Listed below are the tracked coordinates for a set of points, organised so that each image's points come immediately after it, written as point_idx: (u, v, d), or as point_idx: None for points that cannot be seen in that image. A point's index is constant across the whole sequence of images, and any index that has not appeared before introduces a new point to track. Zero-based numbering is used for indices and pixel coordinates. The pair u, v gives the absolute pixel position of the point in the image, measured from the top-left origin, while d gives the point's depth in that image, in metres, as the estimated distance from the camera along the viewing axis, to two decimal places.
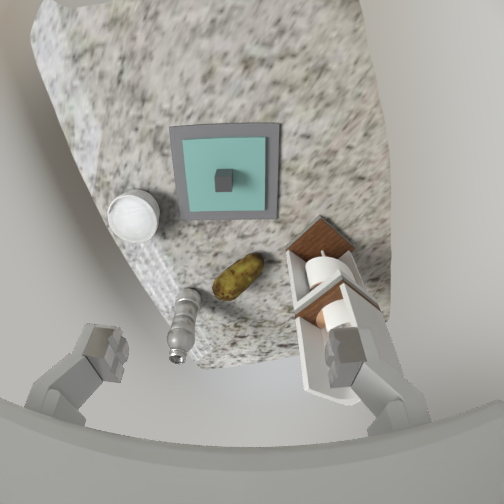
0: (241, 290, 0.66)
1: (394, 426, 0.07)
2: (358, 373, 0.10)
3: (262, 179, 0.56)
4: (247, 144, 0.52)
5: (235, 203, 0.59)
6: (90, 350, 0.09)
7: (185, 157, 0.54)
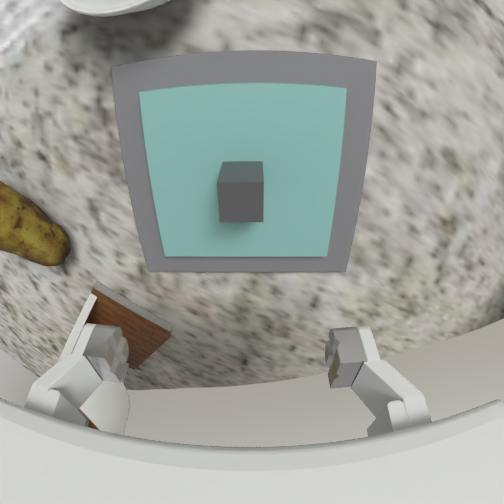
0: None
1: (394, 426, 0.07)
2: (358, 373, 0.10)
3: (236, 252, 0.27)
4: (317, 227, 0.26)
5: (173, 200, 0.24)
6: (90, 350, 0.09)
7: (299, 88, 0.19)
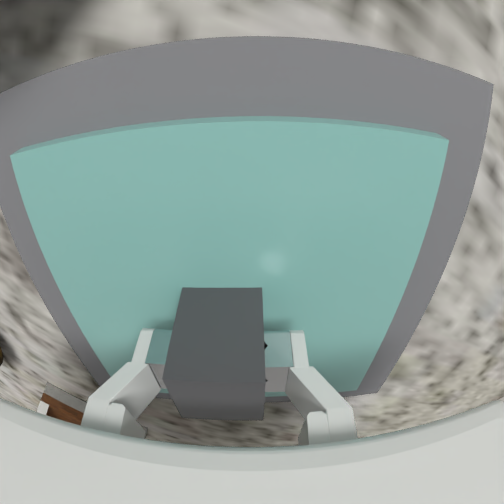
0: None
1: (311, 439, 0.07)
2: (287, 378, 0.10)
3: None
4: (349, 365, 0.15)
5: (110, 334, 0.13)
6: (153, 357, 0.09)
7: (353, 134, 0.08)
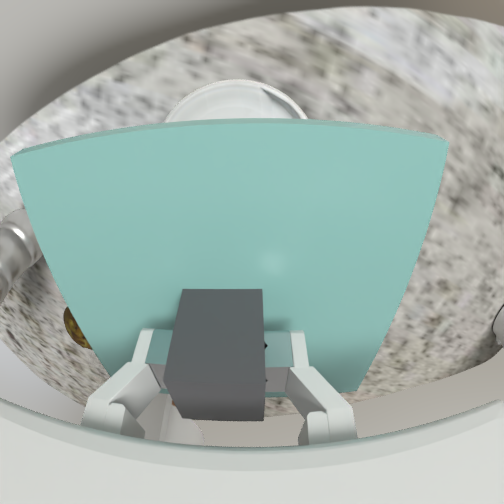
0: None
1: (311, 438, 0.07)
2: (287, 378, 0.10)
3: None
4: (349, 366, 0.15)
5: (110, 335, 0.13)
6: (153, 357, 0.09)
7: (353, 136, 0.08)
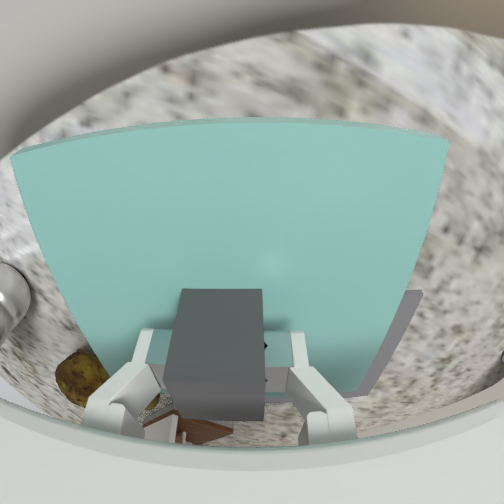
0: None
1: (311, 438, 0.07)
2: (287, 378, 0.10)
3: None
4: (349, 366, 0.15)
5: (110, 335, 0.13)
6: (153, 357, 0.09)
7: (353, 136, 0.08)
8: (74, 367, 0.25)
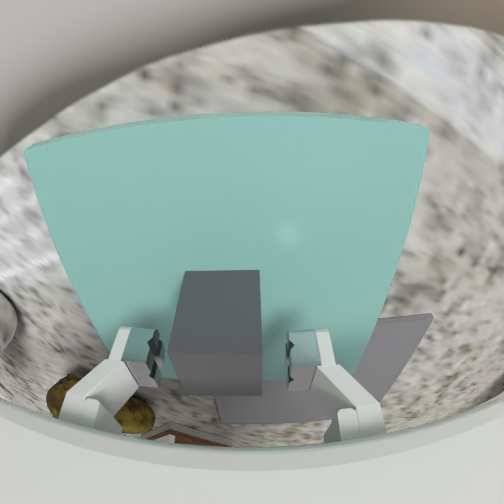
0: None
1: (342, 435, 0.07)
2: (314, 377, 0.10)
3: None
4: (345, 348, 0.16)
5: (116, 319, 0.14)
6: (129, 355, 0.09)
7: (339, 126, 0.09)
8: (65, 393, 0.23)
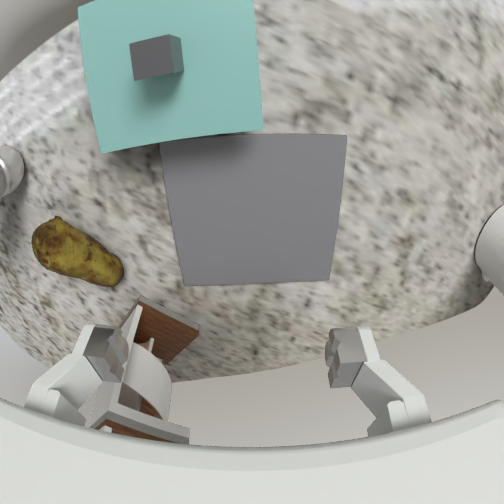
0: (62, 274, 0.32)
1: (394, 426, 0.07)
2: (358, 373, 0.10)
3: (166, 135, 0.24)
4: (245, 96, 0.23)
5: (105, 91, 0.21)
6: (90, 350, 0.09)
7: None
8: (49, 223, 0.29)
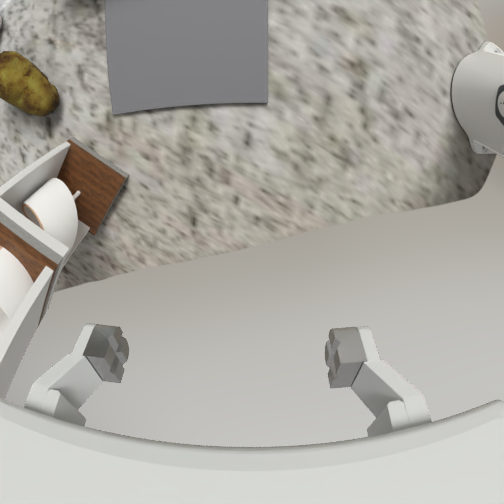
0: (3, 95, 0.24)
1: (394, 426, 0.07)
2: (358, 373, 0.10)
3: None
4: None
5: None
6: (90, 350, 0.09)
7: None
8: None
